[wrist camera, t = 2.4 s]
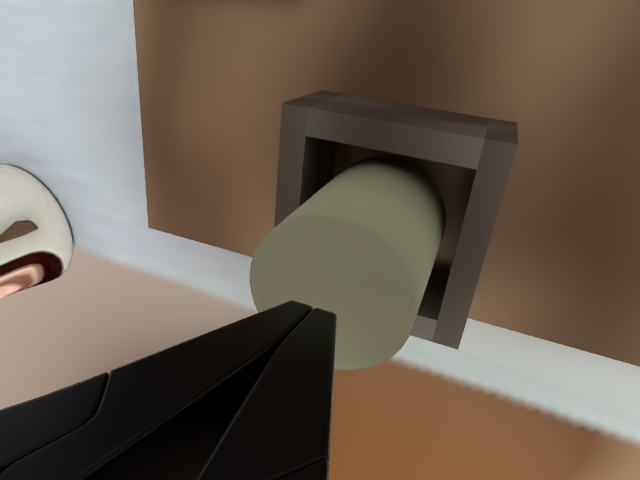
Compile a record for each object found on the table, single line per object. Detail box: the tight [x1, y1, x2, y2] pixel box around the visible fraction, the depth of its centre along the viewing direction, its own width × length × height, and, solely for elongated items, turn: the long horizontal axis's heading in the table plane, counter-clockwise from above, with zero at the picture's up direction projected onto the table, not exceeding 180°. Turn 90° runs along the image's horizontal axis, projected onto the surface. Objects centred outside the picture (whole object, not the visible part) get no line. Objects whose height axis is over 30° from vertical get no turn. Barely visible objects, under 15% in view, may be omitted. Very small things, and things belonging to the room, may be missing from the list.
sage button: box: [250, 157, 446, 370], centre depth 11 cm, size 3×3×4 cm
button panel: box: [133, 0, 640, 366], centre depth 12 cm, size 19×16×4 cm
